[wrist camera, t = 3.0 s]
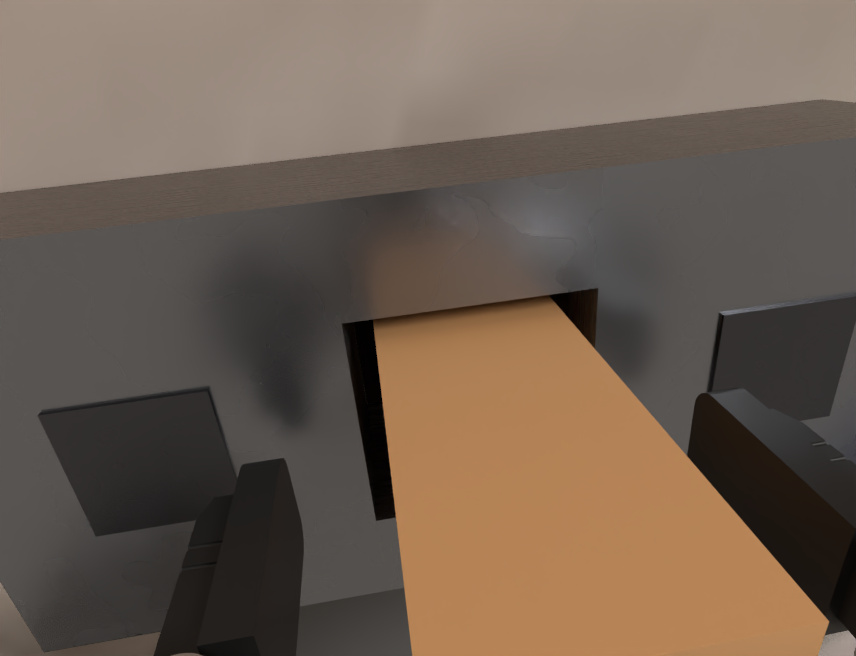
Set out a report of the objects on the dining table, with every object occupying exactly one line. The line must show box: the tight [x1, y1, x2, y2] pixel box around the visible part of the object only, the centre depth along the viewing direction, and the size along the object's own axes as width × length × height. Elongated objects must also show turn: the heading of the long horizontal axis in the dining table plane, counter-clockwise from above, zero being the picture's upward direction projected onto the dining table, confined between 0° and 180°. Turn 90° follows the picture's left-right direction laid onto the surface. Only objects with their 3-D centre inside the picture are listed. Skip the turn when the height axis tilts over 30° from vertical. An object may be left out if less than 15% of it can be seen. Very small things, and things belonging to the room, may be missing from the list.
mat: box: [296, 588, 412, 656], centre depth 23 cm, size 14×12×1 cm
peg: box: [373, 295, 829, 656], centre depth 11 cm, size 4×4×12 cm
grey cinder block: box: [0, 100, 856, 652], centre depth 15 cm, size 22×10×5 cm, turn 95°
